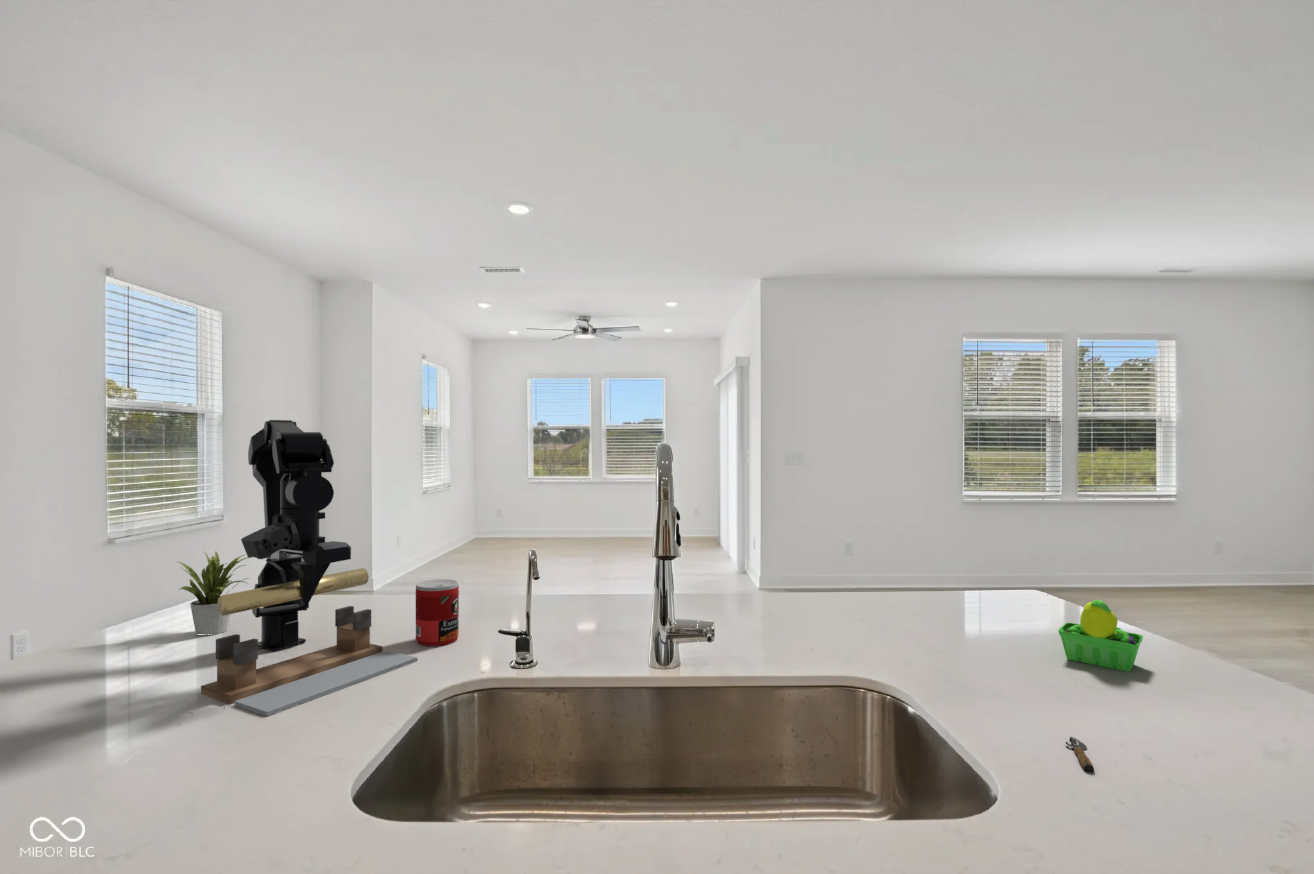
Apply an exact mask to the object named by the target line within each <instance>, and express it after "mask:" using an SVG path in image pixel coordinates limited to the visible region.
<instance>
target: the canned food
mask: <svg viewBox="0 0 1314 874" xmlns="http://www.w3.org/2000/svg"><path fill="white" fill-rule="evenodd" d="M459 585H460V584H459V581H458V580H455V579H449V578H448V579H446V578H445V579H443V578H442V579H441V578H439V579H428V580H423V581H420V582H417V583H416V584H415V640H416V643H417V644H418V645H420V646H422V647H423V646H424V647H441V646H446V645H447V646H448V645H450V644H453V643H455V642H456V641H457V640H458V638H459V629H460V628H459V626H460V625H459V622H460V620H459V618H460V617H459V615H460V614H459V613H460V612H459V610H460V609H459V607H460V606H459V603H460V601H459V600H460V597H459V596H460V595H459V594H460V589H459V587H460V586H459Z"/></svg>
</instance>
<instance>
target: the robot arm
mask: <svg viewBox="0 0 1314 874" xmlns="http://www.w3.org/2000/svg"><path fill="white" fill-rule="evenodd" d="M247 452H248V453H247V461H248V466H251V468H252V469H251V470H252V476H253V478H254V479H255V480H256V481H257V482H258V483H259V485H260V486H261V487H262V494H263V495H262V496H263V497H262V498H263V511H264V527H262V528H260V529H258V530H256V531H254V532H252V533H250V534H247V535H245V536H244V537H242V538H241V539H240V541H241V544H242V546H243V549H244V551H245V555H246V556H247V557H248V558H247V559H251V558H256V559H257V560H264V559H265V562H266V563H265V564H264V566H263V568H262V569H261V571H260V573H259V574H258V576H257V583H255V584H254V588H253V589H257V588H263V587H268V586H273V585H278V584H283V583H288V582H293V581H300V591H301V599H297V600H292V601H288V602H283V603H279V604H274V605H270V606H265V607H261V608H256V609H252V610H251V611H252V614H253V616H254V617H255V619H256V618H260V617H261V641H258V649H262V650H266V651H270V652H276V651H279V650H282V649H283V650H284V649H286V648H289V647H293V646H297V645H300V644H303V643H306V642H307V641H306V640H307V639H306V638H303V637H299V628H300V627H299V624H300V623H299V612H301V611H307V610H308V609H309V607H310V606H309V605H310V602H311V599H312V598H313V597H314V596H313V594H314V592H315V590H316V588H317V586H318V584H319V582H320V580H321V578H322V577H323V576H324V575H325V573H326V572H327V570H328V569H329V567H330V566H331V564H333V563H337V562H342V561H347V560H352V547H351V546H350V545H349V544H348V543H347V542H344V541H334V540H333V541H326V536H320V519H321V520H323V519H326V512H325V511H324V512H323V511H322V510H324V509H326V508H327V507H328V506H329V505H330V504H331V502H332V501H333V498H334V494H335V491H334V487H333V485H332V483H331V482H330V481H329V480H328V479H327V478H326V477H324V476H322V475H323V474H322V473H332V470H333V469H332V468H333V467H334V464H335V462H334V458H333V454H332V451H331V447H330V445H329V444H328V441H327V439H326V438H324V435H323V434H322V433H321V432H320V431H303V429H301V428H300V427H299V426H298V425H297V422H296V421H293V420H291V419H288V420H286V419H269V420H265V422H264V425H263V427H262V428H261V430H259V431H258V432H256V433H255V434H254V435H252V436H251V437H250V440H249V445H248V450H247Z"/></svg>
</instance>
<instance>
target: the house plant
mask: <svg viewBox="0 0 1314 874" xmlns="http://www.w3.org/2000/svg"><path fill="white" fill-rule="evenodd" d="M203 553H204V554H205V556H206V560H207V565H206V566H205V567H203V569H202V570H201V574H200V575H201V578H200V576H199V575H198V574H197V572H196V571H195V570H194V568H192V567H191V566H189V565H187V564H185V563H184V562H181V561H177V563H178V564H180V565H182V566H183V567H184V568H185V569H184V568H183V567H180V569H181V570H183V571H185V572H186V573H187V574H188V575H189V576H190V577H191V578H193V580H192V579H189V585H190V586H189V585H187V586H186V585H185V586H181V587H180V588H179V590H178V591H180V590H184V591H187V592H189V593H191V594H193V595H194V596H195V597H196V599H197V600H194V601H192V602H190V603H189V604H190V611H191V614H192V615H191V616H192V620H193V621H192V622H193V625H194V630H195V635H196V634H205V635H206V634H207V635H208V634H209V636H211V635H210V634H216V635H219V633H220V634H223V633H225V632H227V631H228V628H229V621H230V616H231V614H229V615H224V616H223V615H221V614H220V613H219V610H218V606H217V603H218V599H219V597H220V596H222V595H223V592H224V590H225V589H227V588H228V587H229V586H230V585H232V584H235V583H236V584H235V585H234V586H233V588H235V587H236V586H238V584H239V583H245V584H248V585H249V583H248V582H246V581H244V580H248V579H249V577H246V578H243V579H241V580H234V581H233V580H230V578H231V577H232V576H235V573H233V572H231V573H230V571H231V570H232V569H233V568H234V567H235V566H236V565H238V564H239V563H240V562H241V561H244V560H246V559H249V558H248V556H247V557H244V556H245V554H243V555H239V556H238V557H236V558H234V559H232V561H230V562H229V563H227V562H226V563H221V560H220V557H219V553H218V552H217V551H216V550H215V553H214V555H213V556H211V558H209V556H208V554H207V553H206V552H205V551H203ZM242 557H244V558H242ZM240 558H241V559H240ZM220 563H221V564H220ZM227 564H228V565H227ZM225 565H226V567H224V566H225ZM245 566H246V564H242V565H239V566H237V567H236V568H234V571H236V570H237V569H239V568H240V567H245ZM229 573H230V574H229ZM194 581H195V582H196V583H195V582H194ZM196 584H197V585H198V586H197V585H196ZM178 591H177V592H178ZM227 594H229V591H228V592H226V593H225V595H227ZM222 632H223V633H222Z"/></svg>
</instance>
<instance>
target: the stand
mask: <svg viewBox="0 0 1314 874" xmlns="http://www.w3.org/2000/svg"><path fill="white" fill-rule="evenodd" d="M334 613H335V614H334V615H335V616H334V627H336V645H332V646H329V647H325V648H322V649H319V650H316V651H313V652H309V653H306V654H303V655H299V656H295V657H292V658H289V659H286V660H282V661H280V662H275V663H272V664H270V665H265V666H263V667H258V668H257V660H258V659H259V648H258V642H259V639H258V638H251V639H248V640H243V641H241V635H240V634H236V633H234V634H232V635H228V636H224V637H219V638H216V639H215V660H216V681H213V682H210V683H206V684H204V685H201V686H200V694H201V695H202V696H206V697H209V698H212V699H214V700H218V701H221V702H224V703H226V704H230V705H232V704H235V701H236V700H239V699H242V698H245V697H248V696H251V695H254V694H257V693H260V692H263V691H266V690H269V689H272V688H275V687H278V686H281V685H284V684H287V683H290V682H293V681H296V680H299V679H302V678H305V677H308V676H311V675H314V674H317V673H320V672H323V671H326V670H329V669H332V668H335V667H338V666H341V665H344V664H347V663H350V662H353V661H356V660H359V659H362V658H365V657H368V656H371V655H374V654H377V653H380V652H383V646H382V645H379V644H373V643H371V642H370V641H371V640H370V637H371V635H370V633H371V627H372V609H370V608H369V609H368V608H367V609H363V610H359V611H355V606H354V605H348V606H344V607H341V608H337V609H334Z"/></svg>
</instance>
